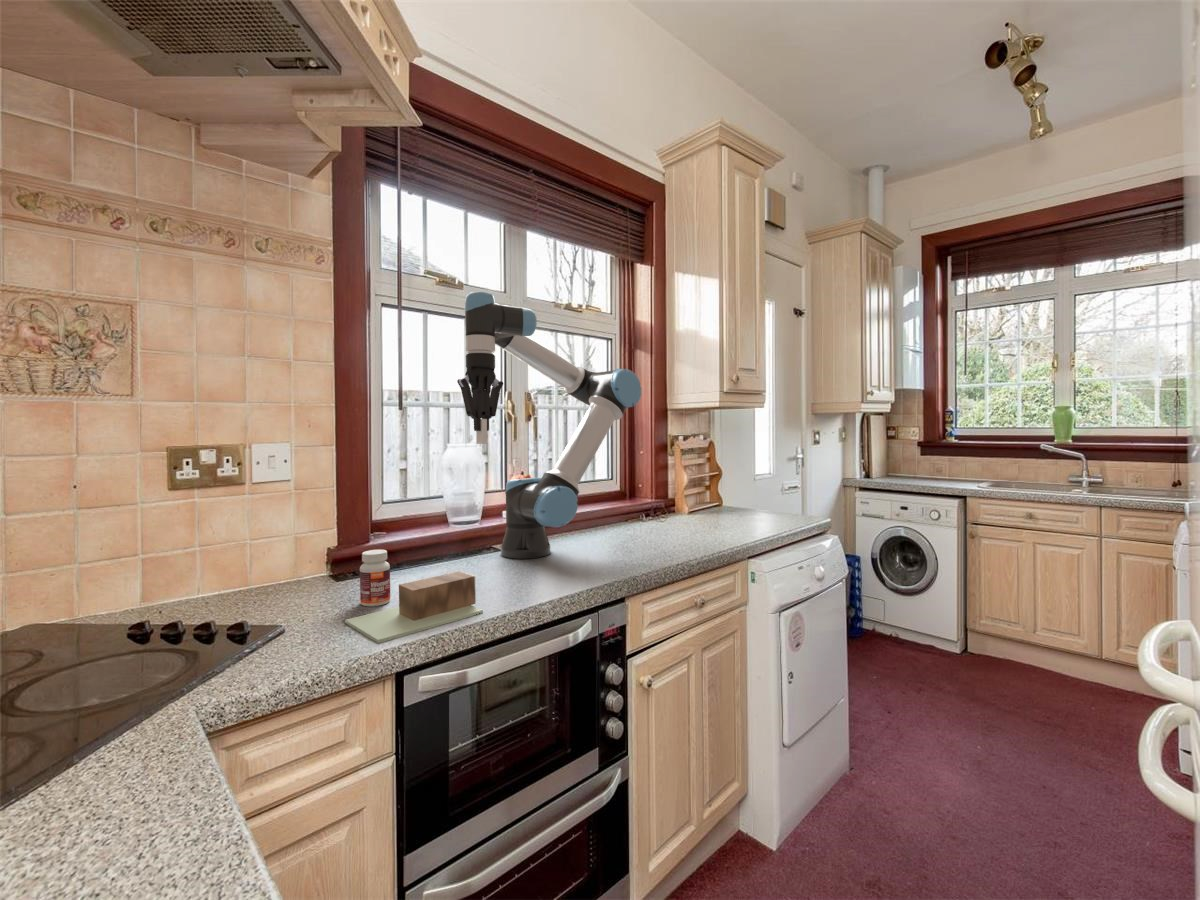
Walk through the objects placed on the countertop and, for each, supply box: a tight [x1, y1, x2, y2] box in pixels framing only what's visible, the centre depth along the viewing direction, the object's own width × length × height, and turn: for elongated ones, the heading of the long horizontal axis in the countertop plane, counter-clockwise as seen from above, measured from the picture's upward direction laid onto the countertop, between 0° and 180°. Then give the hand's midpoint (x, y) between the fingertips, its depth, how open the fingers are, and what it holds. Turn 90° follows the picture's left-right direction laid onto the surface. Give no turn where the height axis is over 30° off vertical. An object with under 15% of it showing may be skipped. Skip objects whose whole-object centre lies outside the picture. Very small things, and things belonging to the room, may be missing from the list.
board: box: [344, 605, 484, 644], centre depth 110 cm, size 22×15×1 cm
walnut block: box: [398, 571, 477, 621], centre depth 113 cm, size 6×6×14 cm
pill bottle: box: [359, 549, 391, 608], centre depth 119 cm, size 6×6×11 cm
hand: (481, 443), depth 142 cm, fingers closed
